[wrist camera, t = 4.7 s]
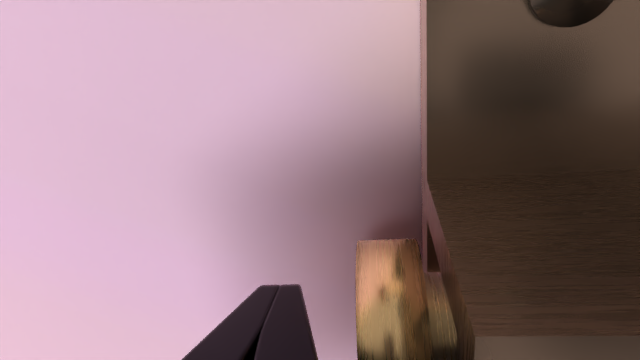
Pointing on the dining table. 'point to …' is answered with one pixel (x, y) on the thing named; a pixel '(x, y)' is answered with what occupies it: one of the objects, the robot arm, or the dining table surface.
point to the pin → (400, 305)
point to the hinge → (533, 174)
